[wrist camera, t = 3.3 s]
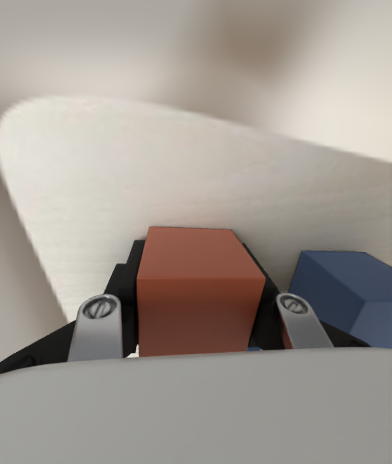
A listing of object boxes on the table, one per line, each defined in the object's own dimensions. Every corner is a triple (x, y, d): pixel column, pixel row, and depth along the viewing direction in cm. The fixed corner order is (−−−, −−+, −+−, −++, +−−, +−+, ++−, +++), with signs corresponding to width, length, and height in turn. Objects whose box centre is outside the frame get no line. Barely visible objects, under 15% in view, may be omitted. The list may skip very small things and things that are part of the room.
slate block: (301, 249, 12) (365, 301, 8) (364, 251, 13) (452, 299, 9) (283, 306, 14) (328, 372, 10) (340, 305, 15) (404, 366, 11)
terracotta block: (148, 226, 10) (136, 277, 6) (231, 229, 11) (267, 278, 7) (148, 294, 12) (139, 368, 8) (220, 293, 13) (244, 362, 9)
